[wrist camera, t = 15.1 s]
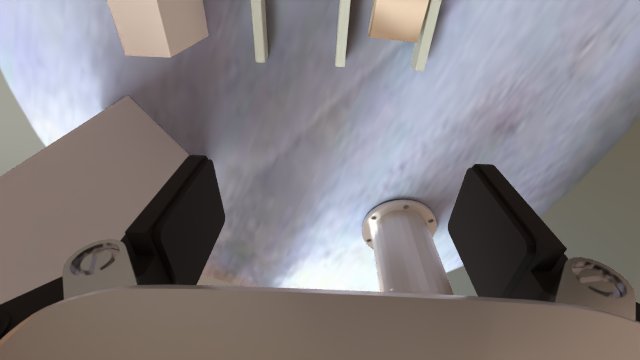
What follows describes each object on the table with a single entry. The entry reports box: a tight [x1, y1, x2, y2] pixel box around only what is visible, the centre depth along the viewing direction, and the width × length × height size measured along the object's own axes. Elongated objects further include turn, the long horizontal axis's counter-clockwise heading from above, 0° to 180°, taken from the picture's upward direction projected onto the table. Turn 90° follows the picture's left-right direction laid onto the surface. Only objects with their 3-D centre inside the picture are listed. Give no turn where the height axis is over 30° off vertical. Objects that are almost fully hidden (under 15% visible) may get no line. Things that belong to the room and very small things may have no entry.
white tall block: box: [0, 95, 189, 304], centre depth 30 cm, size 14×6×30 cm, turn 32°
